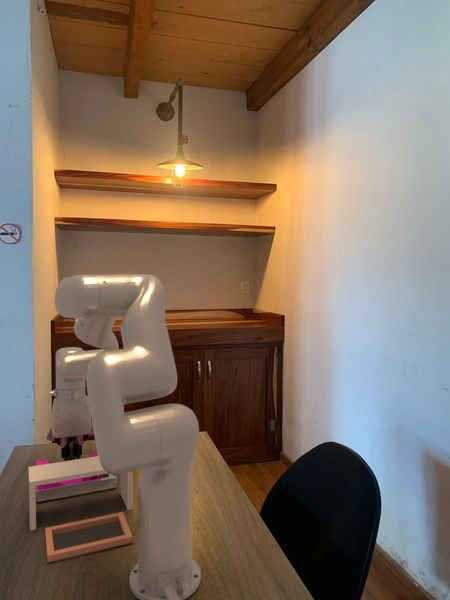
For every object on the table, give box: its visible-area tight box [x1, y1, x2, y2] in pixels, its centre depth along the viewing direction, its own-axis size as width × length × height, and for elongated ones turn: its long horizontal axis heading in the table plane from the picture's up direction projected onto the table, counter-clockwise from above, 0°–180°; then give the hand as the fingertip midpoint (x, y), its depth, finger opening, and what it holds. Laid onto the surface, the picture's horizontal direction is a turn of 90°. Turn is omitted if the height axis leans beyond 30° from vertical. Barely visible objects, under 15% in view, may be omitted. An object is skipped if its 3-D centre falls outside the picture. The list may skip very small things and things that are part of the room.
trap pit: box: [44, 511, 134, 565], centre depth 92 cm, size 10×16×2 cm, turn 114°
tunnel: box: [28, 456, 134, 531], centre depth 103 cm, size 8×22×10 cm, turn 114°
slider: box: [35, 436, 118, 503], centre depth 118 cm, size 18×19×8 cm
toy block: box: [35, 451, 102, 490], centre depth 113 cm, size 15×6×8 cm, turn 114°
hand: (71, 458), depth 124 cm, fingers closed on slider, 2 cm apart
